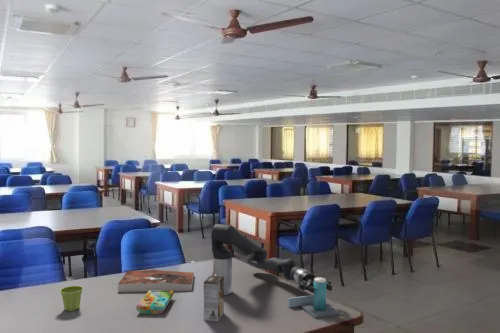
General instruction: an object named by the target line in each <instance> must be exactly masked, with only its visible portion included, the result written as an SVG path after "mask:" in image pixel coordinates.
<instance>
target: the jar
mask: <svg viewBox="0 0 500 333" xmlns="http://www.w3.org/2000/svg"><path fill="white" fill-rule="evenodd" d="M326 280H327V279H326V278H324V277H319V276H318V277H316V278H314V293H312V295H313V309H314V310H316V311H325V310H326V303H327V289H326Z"/></svg>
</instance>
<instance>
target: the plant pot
mask: <svg viewBox="0 0 500 333" xmlns="http://www.w3.org/2000/svg"><path fill="white" fill-rule="evenodd" d="M83 290H84V286H81V285H69V286H66V287H63V288H61V289H59V292H60V294H61V296H62V302H63V309H64V310H65V311H68V312H73V311H74V312H75V311H77V309H80V307H81V299H82V294H83Z"/></svg>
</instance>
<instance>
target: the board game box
mask: <svg viewBox="0 0 500 333" xmlns="http://www.w3.org/2000/svg"><path fill="white" fill-rule="evenodd" d="M194 280H195V272H189V271H173V270H158V269H154V268H153V269H142V270H127V271H126V272H125V274H124V275H123V277H122V278H121V279H120V281H119V282H118V283H117V292H118V293H129V292H130V293H132V292H134V293H135V292H138V293H139V292H148V291H174V292H178V291H179V292H180V291H182V292H185V291H186V292H187V291H189V292H190V291H192V290H193V284H194Z"/></svg>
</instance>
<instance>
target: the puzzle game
mask: <svg viewBox="0 0 500 333" xmlns="http://www.w3.org/2000/svg"><path fill="white" fill-rule="evenodd" d="M146 292H147V293H146V294H145V295H144V296H143V297H142V299H141V300H140V301H139V302H138V303H137V304H136V308H135V309H136V311H137V312H138V313H139V314H146V315H147V314H149V315H150V314H151V315H152V314H154V315H162V314H163V312H164V311H165V310H166V309H167V306H168V305H169V303H170V301H171V300H172V298H173V296H174V295H175V291H146Z"/></svg>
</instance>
